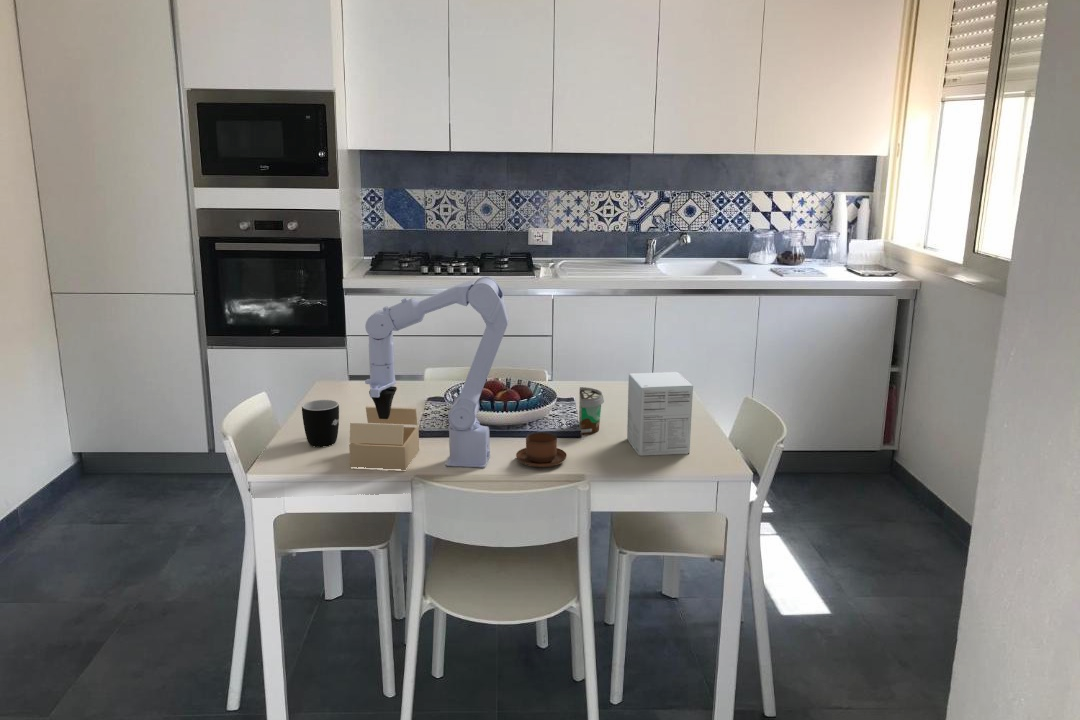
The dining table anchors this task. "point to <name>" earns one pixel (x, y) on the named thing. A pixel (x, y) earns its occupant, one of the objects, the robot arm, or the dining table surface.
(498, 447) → the dining table surface
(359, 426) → the near flap
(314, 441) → the mug
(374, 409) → the far flap
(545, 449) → the cup and saucer
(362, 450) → the carton
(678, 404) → the supplement box
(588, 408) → the food container
